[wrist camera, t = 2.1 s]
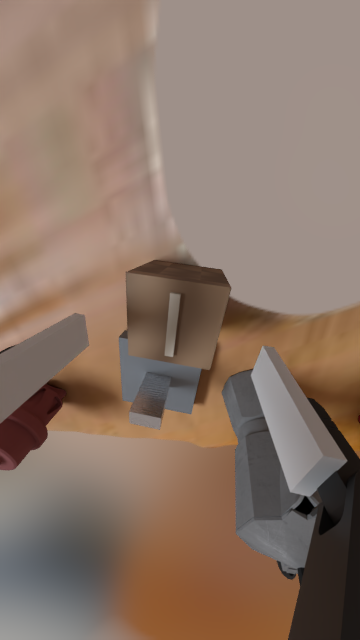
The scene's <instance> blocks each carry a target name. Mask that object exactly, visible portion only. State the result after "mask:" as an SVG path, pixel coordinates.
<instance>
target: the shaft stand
mask: <svg viewBox="0 0 360 640" xmlns="http://www.w3.org/2000/svg"><path fill="white" fill-rule="evenodd" d="M119 348H120V365H121V381H122V397H123V400H124V401H129V402H133V404H132V407H131V409H130V411H129V420H130V423H131V424H136V425H140V426H145V427H150V428H155V429H159V430H160V427H161V423H162V419H163V415H164V410H165V409H168V410H173V411H178V412H183V413H188V414H191V413H192V408H193V404H194V399H195V395H196V391H197V386H198V382H199V377H200V373H201V368H195V367H190V366H184V365H179V364H174V363H168V362H163V361H157V360H152V359H146V358H141V357H135V356H130V355H128V331H126V330H125V331H124V332H123V333H122V334H121V335H120V337H119Z"/></svg>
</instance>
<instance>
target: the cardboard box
mask: <svg viewBox="0 0 360 640" xmlns="http://www.w3.org/2000/svg"><path fill="white" fill-rule="evenodd" d="M230 291H231V287H230V284H229V283H228V281H227V279H226V277H225V275H224V273H223V271H222V270H221V269H214V268H207V267H199V266H192V265H185V264H178V263H171V262H164V261H157V260H153V261H151V262H149V263H146V264H144V265H142V266H139V267H137V268H135V269H132V270H130V271H128V272H126V296H127V327H128V355H130V356H135V357H141V358H146V359H152V360H157V361H163V362H168V363H174V364H179V365H184V366H190V367H195V368H201V369H206V370H210V368H211V364H212V360H213V356H214V353H215V349H216V345H217V341H218V337H219V333H220V329H221V326H222V322H223V318H224V314H225V310H226V306H227V302H228V299H229V295H230Z"/></svg>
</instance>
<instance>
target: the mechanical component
mask: <svg viewBox="0 0 360 640" xmlns="http://www.w3.org/2000/svg"><path fill="white" fill-rule="evenodd" d="M65 395H66V391H65V390H63V389H58V388H55V387H52V386H50V385H48V384H45V385H43V386H42V387H41V388H40V389H39V390H38V391H37V392H35V393H34V394H33V395H32V396H31V397H30V398H29V399H28V400H26V401H25V402H24V403H23V404H22V405H21V406H20V407H19V408H17V409H16V410H15V411H14V412H13V413H12V414H11V415H9V416H8V417H7V418H6V419H5V420H4V421H3V422H2V423H0V470H13V469H15V468H16V467H17V466H18V465H19V464H20V463H21V461H22V460H23V459H24V458H25V456H26V455H27V454H28V453H29V452H30V450H35V449H37V448H39V447H40V446H41V445H42V444H43V442H44V441H45V440H46V439H47V435H48V433H47V428H46V425H47V424H48V423H49V421H50V420H51V419H52V418H53V417H54V416H55V414H56V413H57V412H58V411H59V410H60V409H61V407H62V399H63V397H64V396H65Z"/></svg>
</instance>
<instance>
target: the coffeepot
mask: <svg viewBox="0 0 360 640" xmlns="http://www.w3.org/2000/svg"><path fill="white" fill-rule="evenodd" d="M252 371H253V370H247V371H243V372H239V373H237V374H235V375H233V376H231V377H229V379H228V380H227V382H226V383H225V386H224V389H223V391H222V395H223V398H224V402H225V405H226V408H227V411H228V414H229V417H230V421H231V424H232V427H233V430H234V432H235V434H236V436H237V438H238V445H237V447H236V449H235V472H236V474H235V481H236V534H237V535H238V536H239V537H240V538H241V539H242V540H243V541H244V542H245V543H246V544H247V545H248V546H249V547H250V548H251V549H253V550H255V551H257V552H259V553H262V554H264V555H266V556H268V557H271V558H273V559H275V560H277V563H278V566H279V569H280V570H281V572H282V574H283V575H284V576H285V577H287V578H288V579H293V578H295V576H296V573H297V574H298V576H299V582H300V585H301V581H302V577H303V572H304V568H305V564H306V559H307V555H308V551H309V546H310V542H311V537H312V533H313V529H314V524H315V520H316V516H317V514H316V515H315V516H314V517H312V516H311V515H310V512H311V511H312V510H313V509H314V508H315V507H316V506H317V505H318V504H320V503H321V502H322V500H321V497H320V495H319V493H318V491H317V490H316V491H315V492H314V493H313V494H312V495H311V496H310V497H309V496H304V495H300V494H296V493H292V492H290V490H289V487H288V484H287V481H286V478H285V475H284V472H283V469H282V466H281V463H280V460H279V457H278V454H277V451H276V449H275V446H274V443H273V440H272V437H271V434H270V431H269V428H268V425H267V422H266V419H265V416H264V413H263V410H262V407H261V404H260V401H259V398H258V395H257V392H256V389H255V386H254V383H253V380H252V377H251V374H252Z"/></svg>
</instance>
